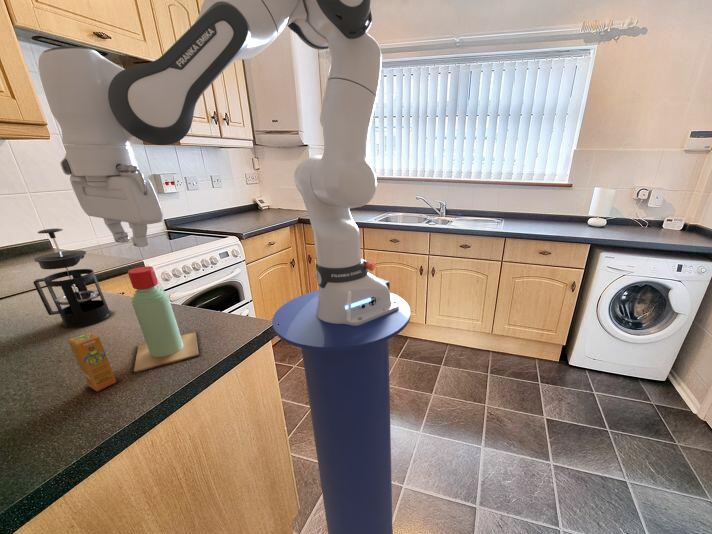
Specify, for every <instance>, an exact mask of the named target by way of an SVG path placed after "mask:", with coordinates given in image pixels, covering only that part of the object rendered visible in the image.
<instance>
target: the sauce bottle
mask: <svg viewBox="0 0 712 534" xmlns="http://www.w3.org/2000/svg"><path fill="white" fill-rule="evenodd" d="M131 304H132V307H133V310H134V312H135V316H136V318H137V321H138V324H139V326H140V329H141V332H142V335H143V338H144V341H145V344H147V346H148V349H149V352H150V354H151V356H153V357H165V356H169V355H172V354H174V353H176V352H178V351H180V350H181V349H182V348H183V342H182V339H181V335H182V334H181V332H180V329H179V326H178V323H177V320H176V319H177V318H176V316H175V313H174V310H173V306H172V303H171V301H170V297H169V294H168V293H167V292H166V291H165V290H163V288H160V287H159V286H158V285H156V286H154V287H151V288H146V289H135V291H134V294H133V297H132V298H131Z"/></svg>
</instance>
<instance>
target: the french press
mask: <svg viewBox="0 0 712 534" xmlns="http://www.w3.org/2000/svg"><path fill="white" fill-rule="evenodd" d="M63 230H64V229H63V228H58V227H57V228H46V229H42V230H39V231H37V234H48V236H49V238H50V239H52V241H53V243H54V245H55V247H56V250H57V251H56V252H51V253H47V254H42V255H39V256H37V257H34V259H33V260H34V262H35V263H38V264H39V266H40V269H41V270H59V269H60V270H61V269H65V271H60V272H56V273H53V274H49V275H47V276H46V277H43V278H42V277H41V278H36V279H35V280H34V281H33V282H32V283H33V285H34V287H35V289H36V291H37V293H38V295H39V298H40V299H41V302H42V304H43V306H44V308H45V310H46V312H47V314H48V315H49V316H54V315H59V316H60V318H61V320H62V325H63V326H64V327H65V328H71V329H72V328H74V329H75V328H82V327H88V326H91V325H95V324H98V323H100V322H102V321H105V320H107V319H108V318H110V317H111V316H112V311H111V310H110V309H109V307H108V304H107V301H106V299H105V297H104V293H103V291H102V289H101V287H100V284H99V281H98V279H97V276H96V274H95V272H94V269H92V268H90V269H89V268H79V269H78V268H77V269H70V270H69V268H71V267H74V266H77V265H78V264H79V263H80V261H81V260H83V259H84V258H85V255H86V254H87V252H86V250H75V249H74V250H63V251H61V249H60V247H59V245H58V243H57V240H56V238H57V237H56V233H59V232H62V231H63ZM66 277H69V279H64V280H59V279H62V278H66ZM90 280H93V282H94V284H95V287H96V289H88V286H87V285H86V283H85V282H88V281H90ZM41 282H44V284H45V286H46V287H47V290H48V292H49V294H50V296H51V298H52V300H53V303H54V305H55V307H56V309H57V310H53V309H52V307H51V305H50V303H49V301H48V299H47V297H46V295H45V293H44V290H43V288H42V286H41V284H40V283H41ZM53 287H55V288H57V287H60V288H61V289H62V292H63V294H64V295H61V296H58V297H57V295H56V293H55V290H54V288H53ZM98 297H100V299H97V298H98ZM62 306H65V307H63V308H62Z"/></svg>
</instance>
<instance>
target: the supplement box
mask: <svg viewBox="0 0 712 534" xmlns="http://www.w3.org/2000/svg"><path fill="white" fill-rule="evenodd" d="M67 341H68V344H69V346H70V348H71V350H72V352H73V354H74V356H75V359H76V361H77V363H78V365H79V368H80V370H81V372H82V374H83V376H84V379H85V382H86V384H87V386H88V387H89V388H91V389H92V390H94V391H96V392H99V391H101V390H103V389H106V388H107V387H110V386H112V385H114V384H116V383H117V380H116V376H115V374H114V372H113V369H112V366H111V364H110V361H109V359H108V356H107V353H106V351H105V348H104V346H103V343H102V340H101V338H100V336H98V335H97V334H95V333H93V332H91V331H89V332H86V333H84V334H81V335H78V336H75V337H72V338H69V339H68V340H67Z"/></svg>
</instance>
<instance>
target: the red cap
mask: <svg viewBox="0 0 712 534" xmlns="http://www.w3.org/2000/svg"><path fill="white" fill-rule="evenodd" d="M127 274H128V278H129V281H130V283H131V286H132V288H133V289H134V290H137V289H146V288H151V287H154V286H158V285H159V282H158V277H157V274H156V272H155V270H154V267H153V266H149V265H148V266H147V265H146V266H139V267H138V266H137V267H133V268H132V269H131V268H130V269H129V270H128V271H127Z"/></svg>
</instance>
